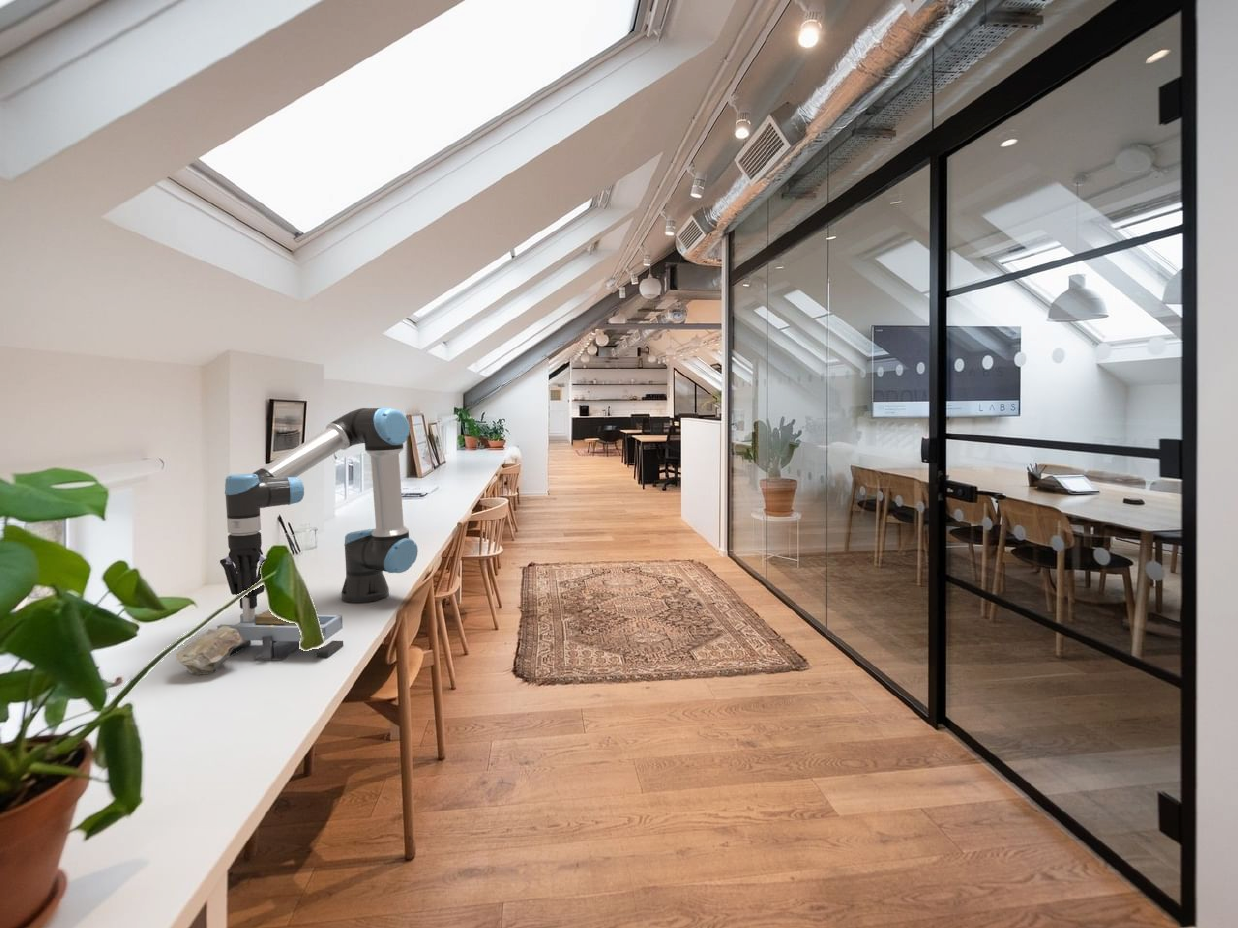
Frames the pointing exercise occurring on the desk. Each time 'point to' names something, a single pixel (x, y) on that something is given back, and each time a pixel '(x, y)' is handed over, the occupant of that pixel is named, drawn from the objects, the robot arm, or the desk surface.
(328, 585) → the desk surface
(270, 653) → the fulcrum
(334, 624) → the beam
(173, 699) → the desk surface
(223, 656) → the stone
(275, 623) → the brown wooden block
